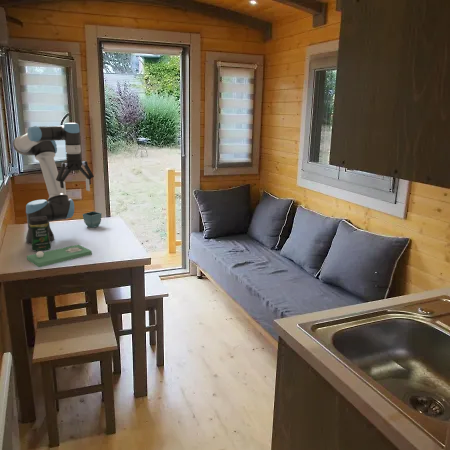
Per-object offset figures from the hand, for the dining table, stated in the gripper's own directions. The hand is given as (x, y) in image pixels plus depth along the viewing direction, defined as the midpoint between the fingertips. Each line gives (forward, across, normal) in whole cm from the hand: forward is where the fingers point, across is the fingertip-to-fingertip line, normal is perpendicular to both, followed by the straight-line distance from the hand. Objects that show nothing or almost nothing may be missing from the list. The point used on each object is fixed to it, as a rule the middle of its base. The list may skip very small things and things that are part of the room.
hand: (76, 192), depth 232 cm
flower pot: (+32, +25, +33) cm, 52 cm away
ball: (+27, -26, -10) cm, 39 cm away
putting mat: (+31, -16, -10) cm, 36 cm away
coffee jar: (+31, -18, +9) cm, 37 cm away
